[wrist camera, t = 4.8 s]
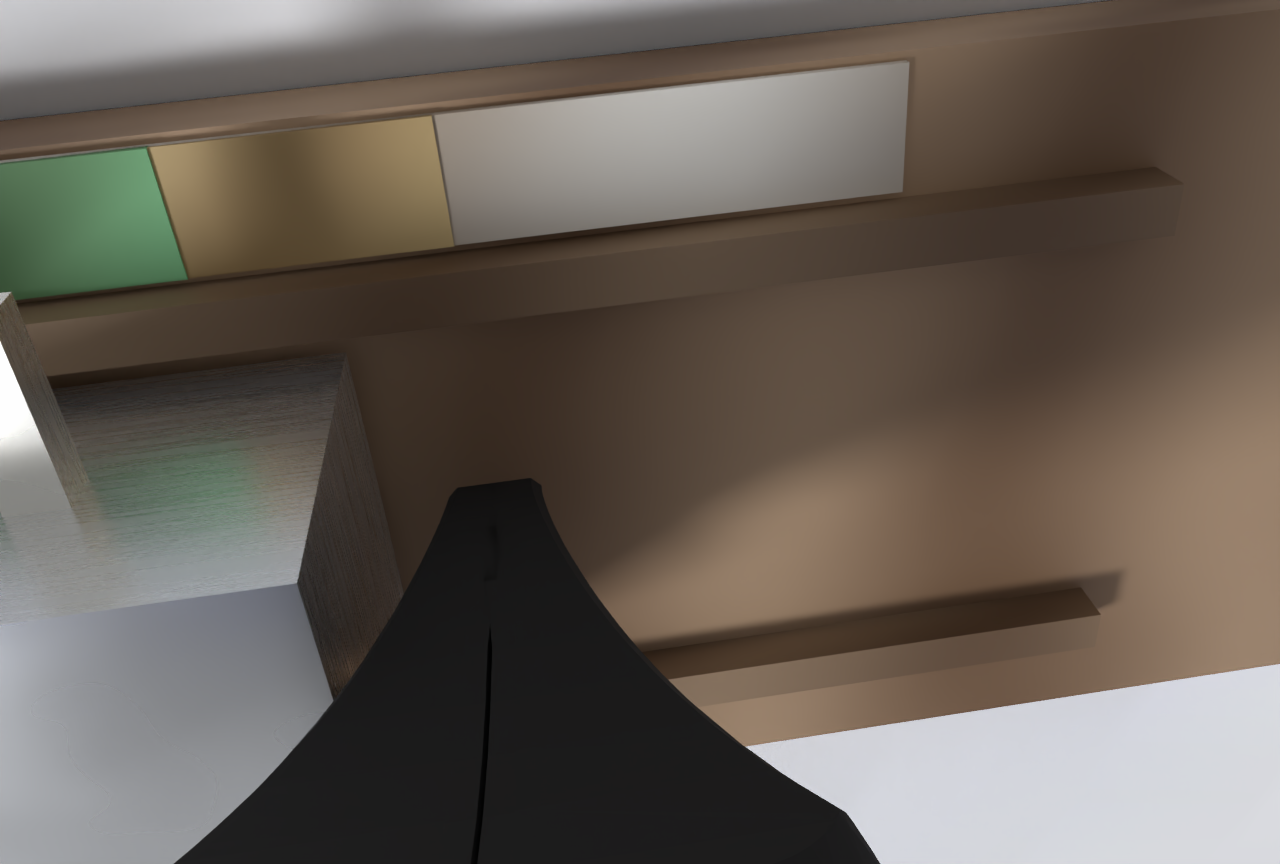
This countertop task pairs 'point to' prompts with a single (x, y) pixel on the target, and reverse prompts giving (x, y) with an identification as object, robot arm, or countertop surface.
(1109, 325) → the rail board
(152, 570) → the brushed steel box
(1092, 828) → the countertop surface
